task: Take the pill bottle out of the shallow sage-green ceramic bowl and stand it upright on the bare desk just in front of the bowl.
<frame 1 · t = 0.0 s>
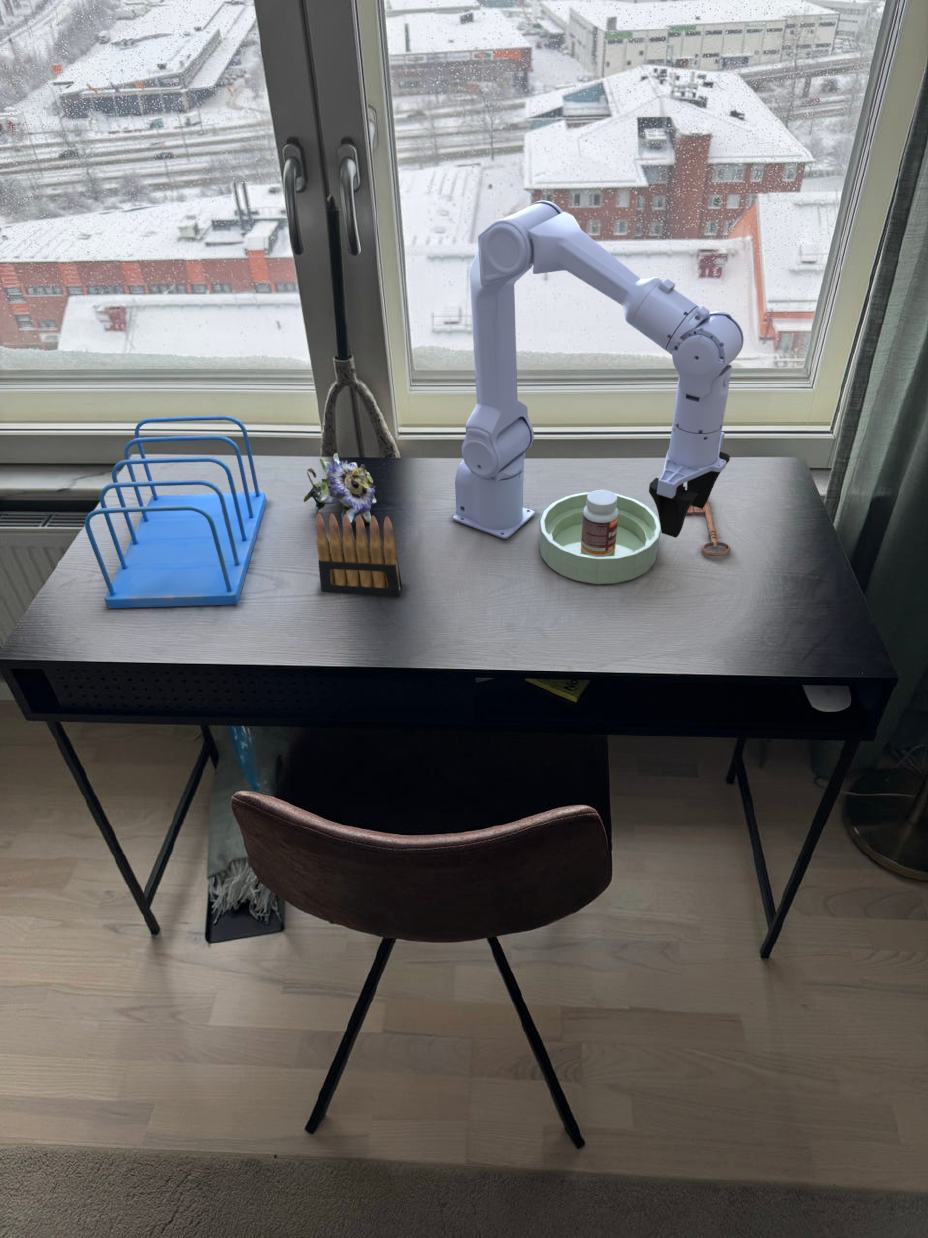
hand: (683, 519, 117), 10 cm above the table, tool pointing down, fingers open, 7 cm apart
bowl: (597, 550, 130), on the table
pill bottle: (597, 549, 130), resting on bowl
file sorter: (193, 553, 132), on the table
passion flower: (341, 517, 138), on the table
key: (703, 528, 133), on the table
ammunition clip: (361, 591, 125), on the table
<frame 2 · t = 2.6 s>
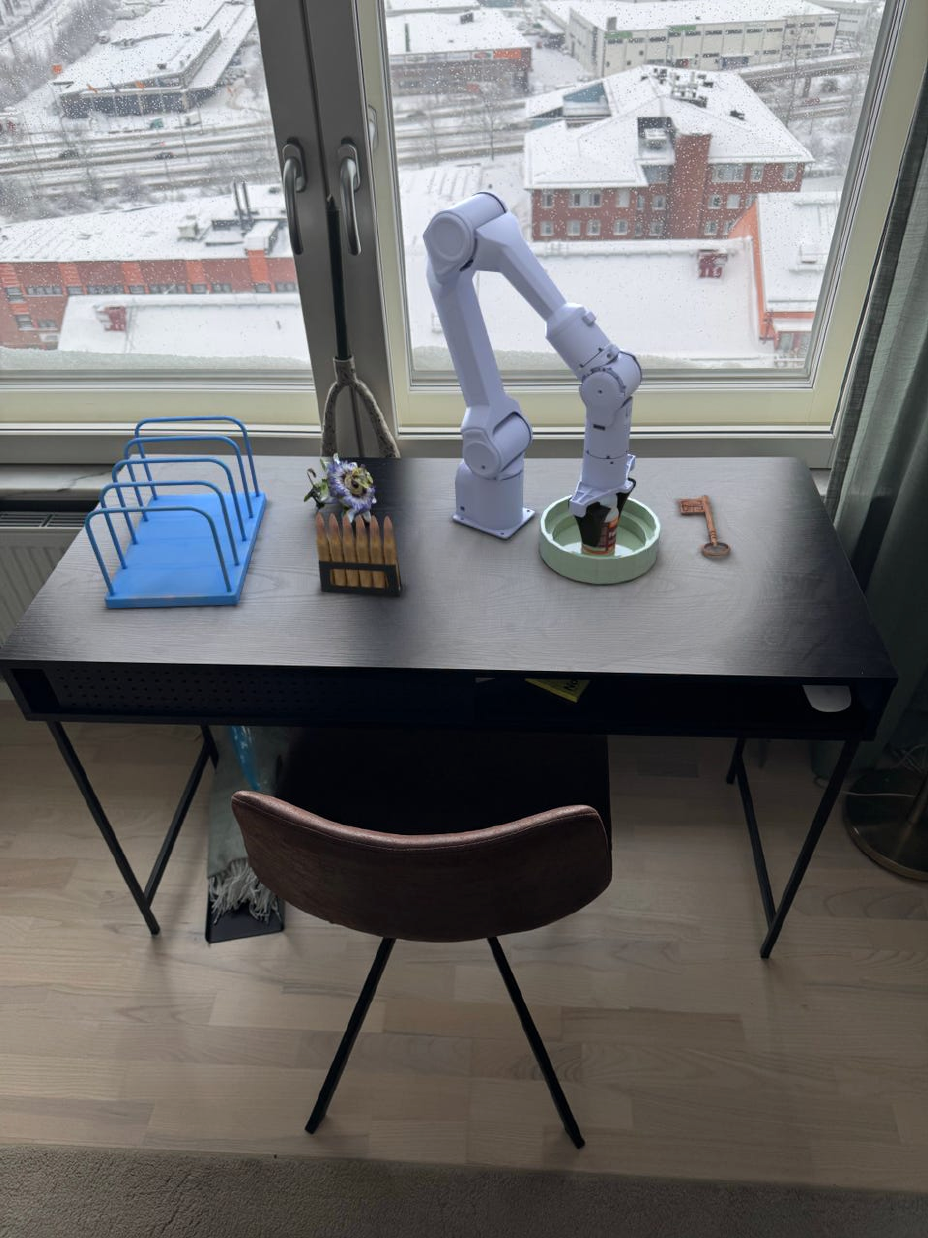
hand: (599, 535, 128), 3 cm above the table, tool pointing down, fingers closed on pill bottle, 5 cm apart
pill bottle: (598, 549, 130), resting on bowl, touching gripper
everything else where it was.
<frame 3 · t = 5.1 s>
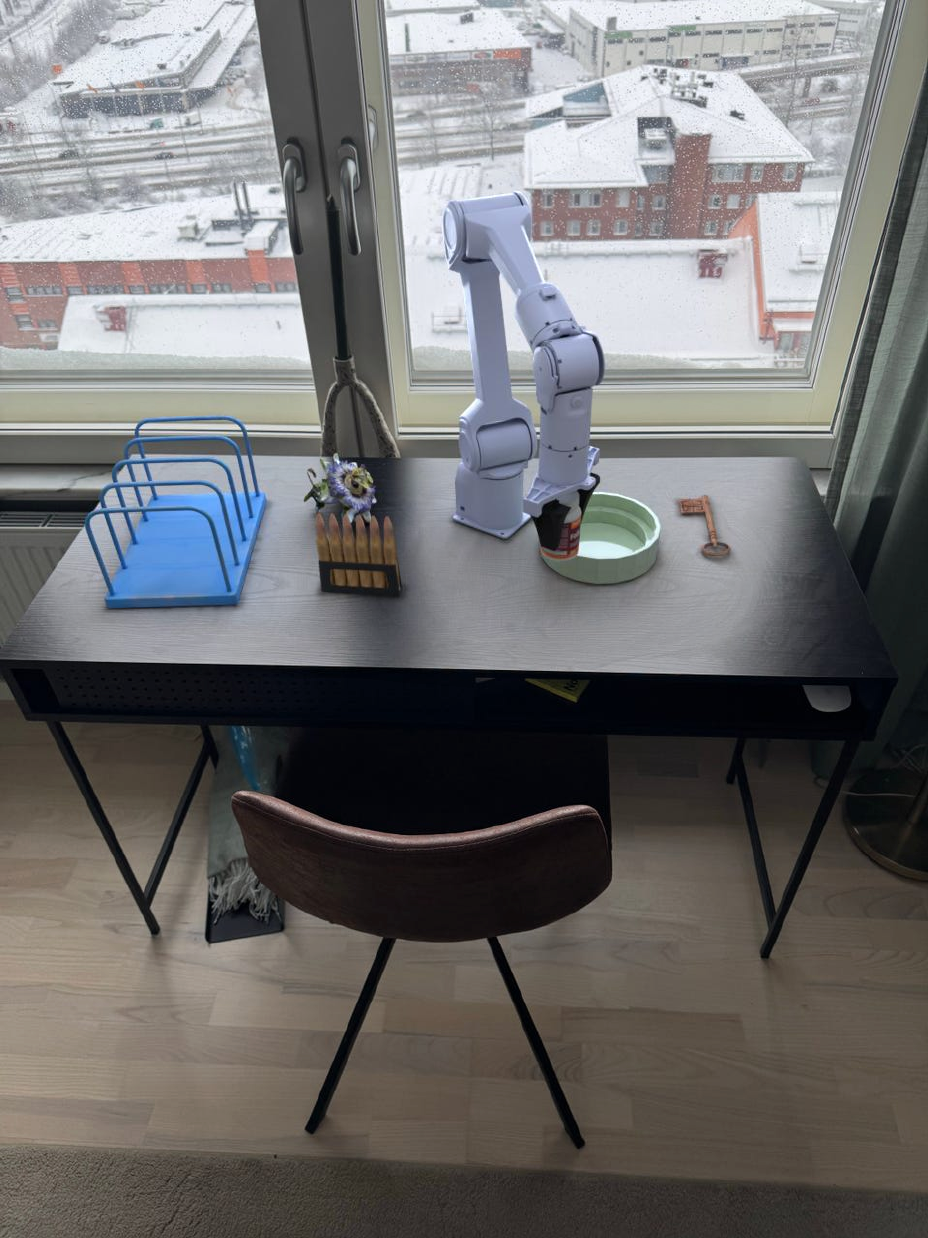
hand: (559, 537, 115), 10 cm above the table, tool pointing down, fingers closed on pill bottle, 5 cm apart
pill bottle: (559, 552, 117), point 8 cm above the table, touching gripper
everything else where it was.
when the fingers open (2 cm above the table, at t = 7.5 s): pill bottle stays where it is, on the table.
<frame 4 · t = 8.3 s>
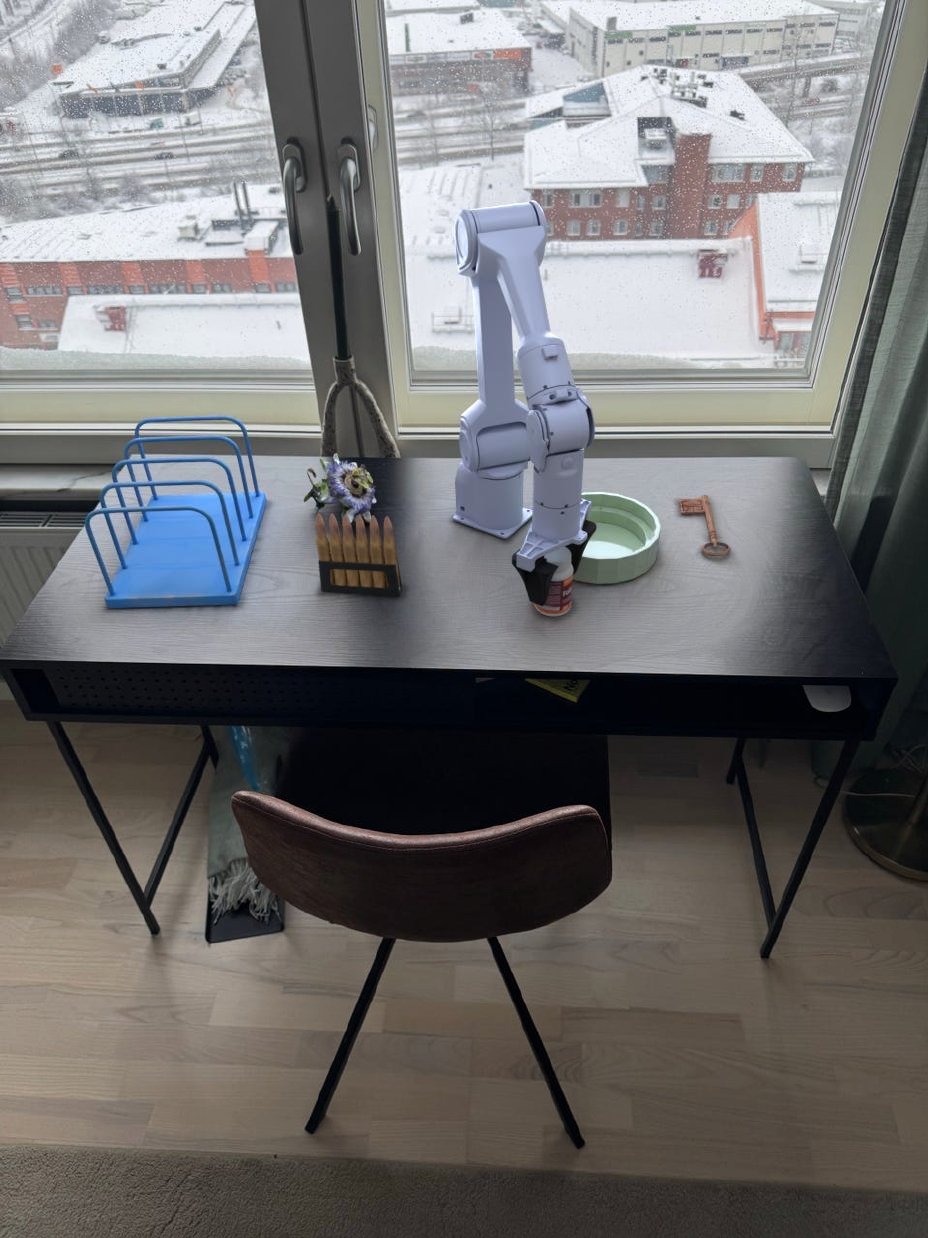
hand: (553, 586, 119), 3 cm above the table, tool pointing down, fingers open, 7 cm apart
pill bottle: (552, 607, 121), on the table
everything else where it was.
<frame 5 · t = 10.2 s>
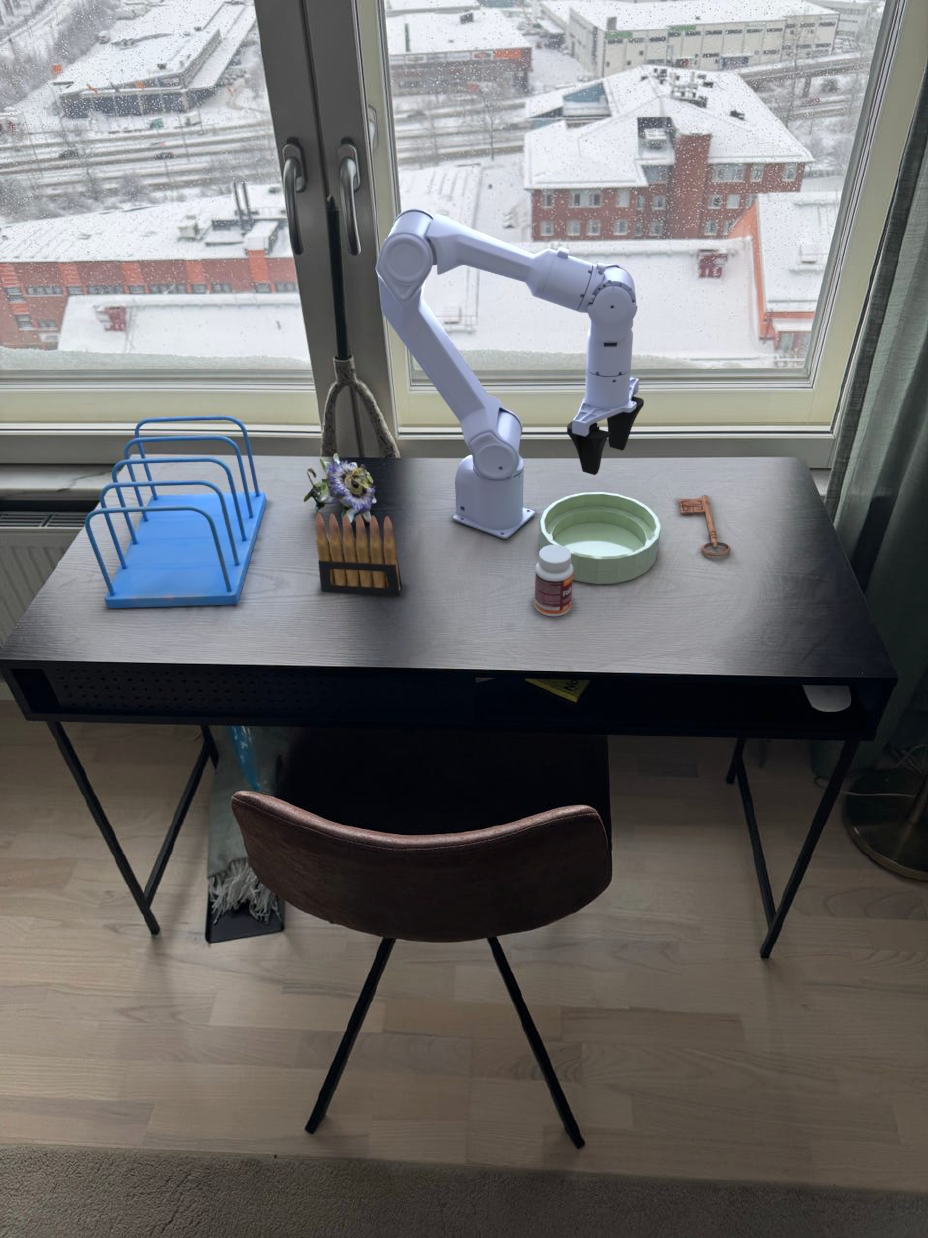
hand: (603, 459, 129), 10 cm above the table, tool pointing down, fingers open, 7 cm apart
nothing on the table moved.
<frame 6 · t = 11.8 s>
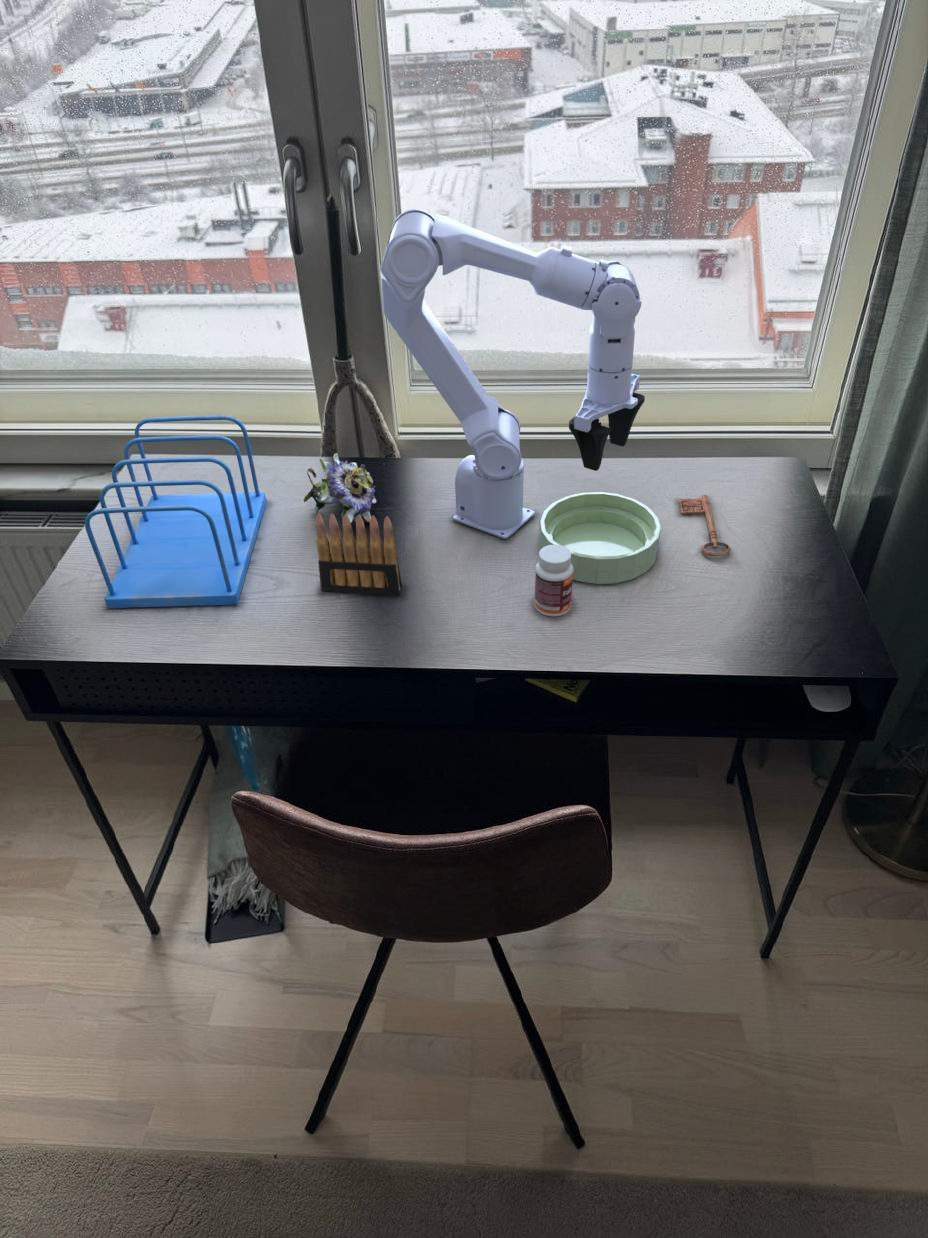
hand: (604, 455, 129), 10 cm above the table, tool pointing down, fingers open, 7 cm apart
nothing on the table moved.
at the end: pill bottle inside the target area (0.1 cm from its centre), on the table; pill bottle tilted 0°; pill bottle touching table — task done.
